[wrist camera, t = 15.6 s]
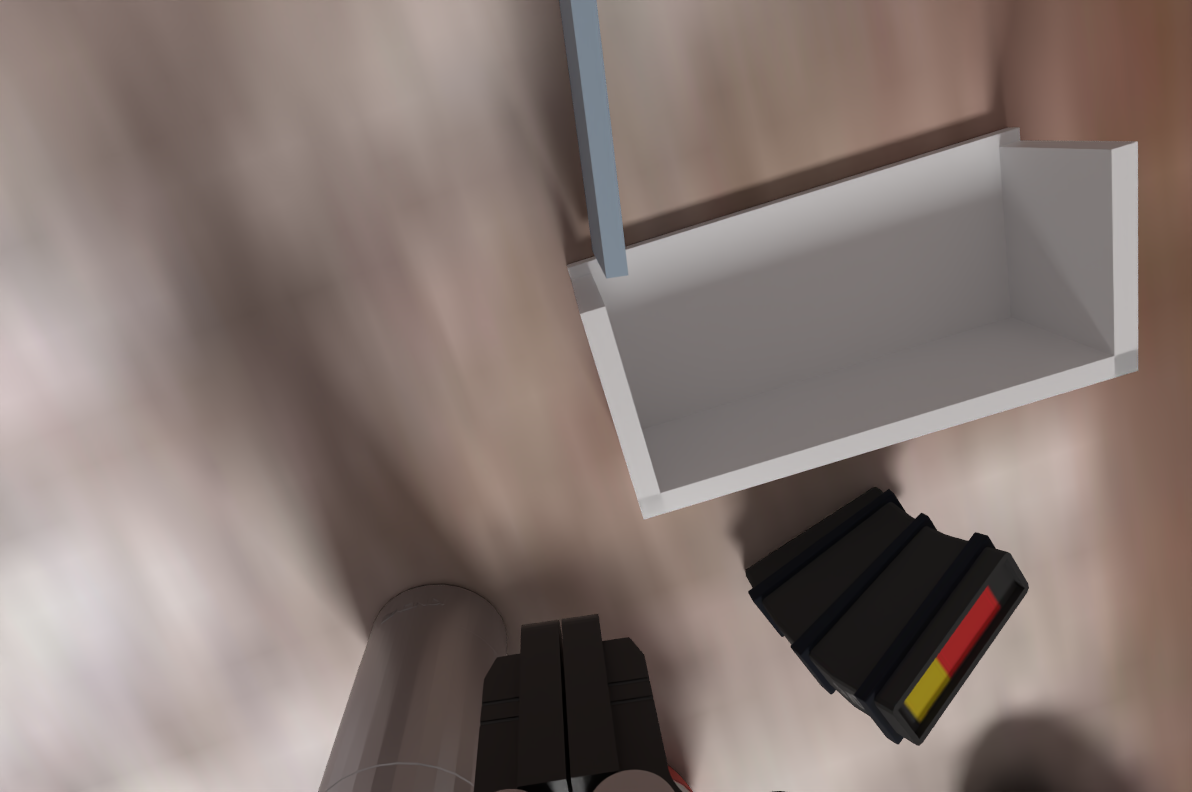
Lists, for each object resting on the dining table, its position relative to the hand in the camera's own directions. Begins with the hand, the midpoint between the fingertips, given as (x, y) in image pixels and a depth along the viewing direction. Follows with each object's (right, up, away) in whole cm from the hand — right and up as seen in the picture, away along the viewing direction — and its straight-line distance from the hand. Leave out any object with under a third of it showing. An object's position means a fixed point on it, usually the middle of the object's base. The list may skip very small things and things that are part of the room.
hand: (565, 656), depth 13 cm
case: (+13, +11, +28) cm, 33 cm away
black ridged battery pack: (+17, -4, +35) cm, 39 cm away
